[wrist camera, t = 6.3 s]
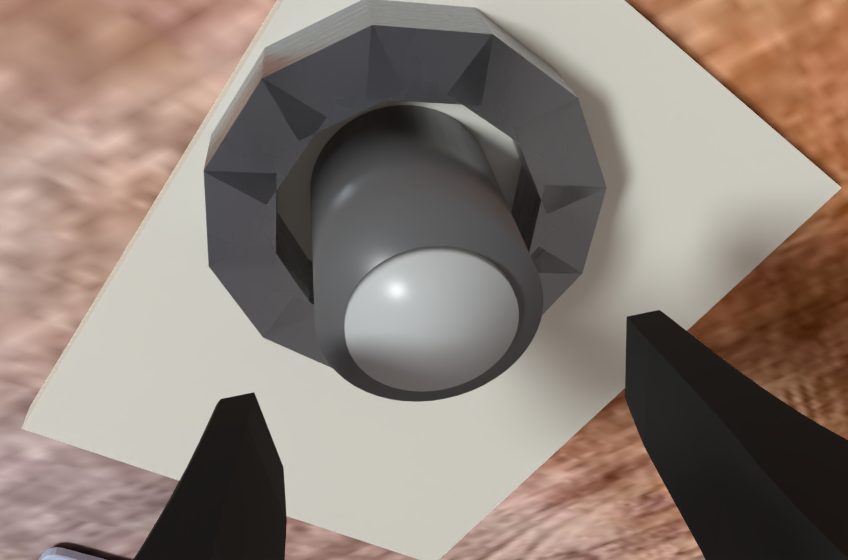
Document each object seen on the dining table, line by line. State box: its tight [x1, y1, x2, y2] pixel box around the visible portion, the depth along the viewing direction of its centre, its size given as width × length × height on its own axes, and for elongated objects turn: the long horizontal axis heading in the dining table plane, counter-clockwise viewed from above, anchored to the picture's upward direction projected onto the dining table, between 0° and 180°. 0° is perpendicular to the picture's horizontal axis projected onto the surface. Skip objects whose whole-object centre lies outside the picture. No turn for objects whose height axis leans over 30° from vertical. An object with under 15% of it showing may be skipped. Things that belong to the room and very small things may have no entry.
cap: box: [310, 105, 543, 402], centre depth 18 cm, size 5×5×6 cm
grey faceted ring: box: [203, 0, 607, 368], centre depth 19 cm, size 10×10×2 cm
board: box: [21, 0, 841, 560], centre depth 23 cm, size 20×16×1 cm
